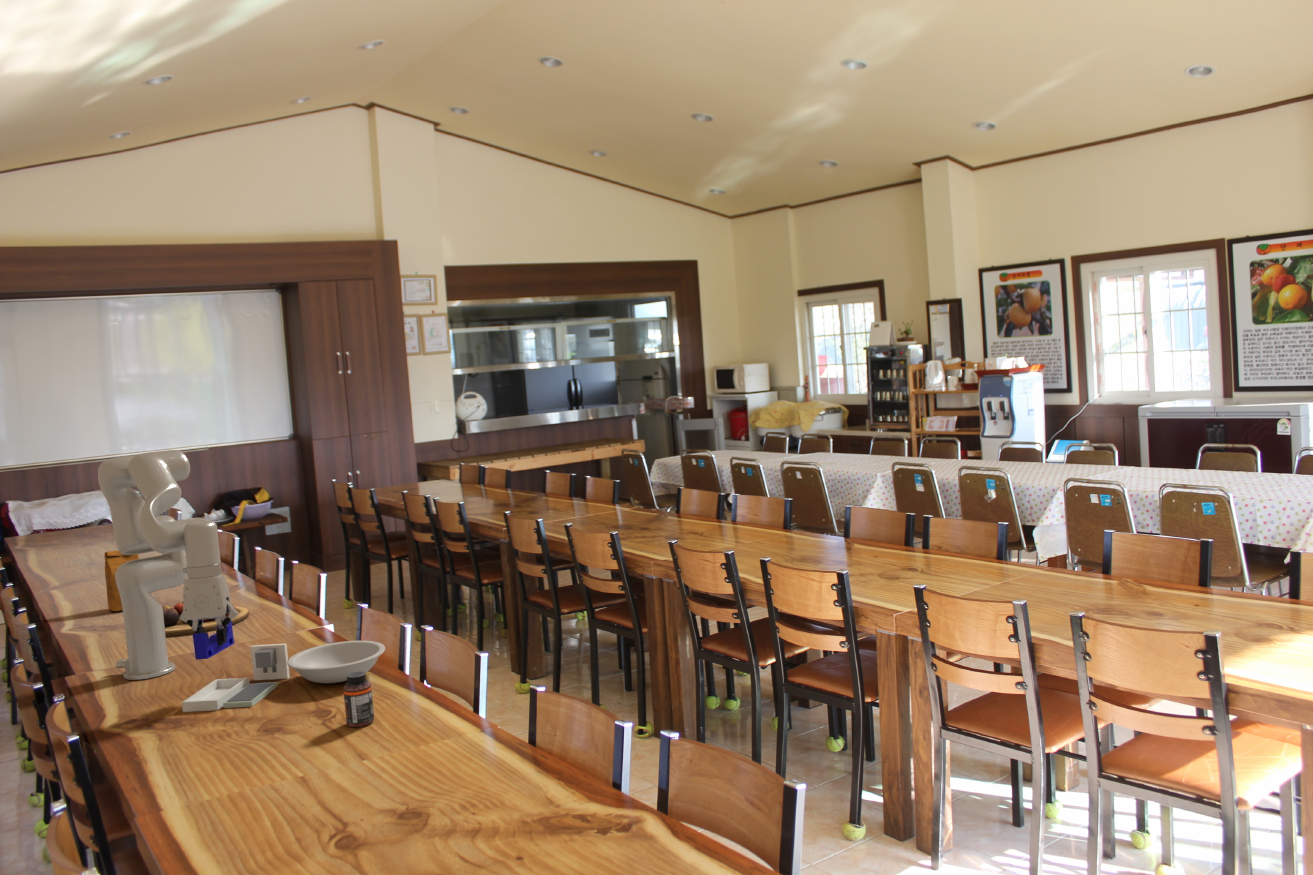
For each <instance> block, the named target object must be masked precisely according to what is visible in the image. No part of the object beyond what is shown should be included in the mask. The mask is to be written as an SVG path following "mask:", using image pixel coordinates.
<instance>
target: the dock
mask: <svg viewBox="0 0 1313 875" xmlns="http://www.w3.org/2000/svg"><path fill="white" fill-rule="evenodd" d="M249 684H251V683H250V677H238V678H237V677H236V678H235V677H234V678H216V679H214V680H213V681H211V682H210V683H208V684H207V685H205V686H204V687H203V688H200V689H199V690H198V691H196V692H195V693H194V694H192V695H190V696H189V697H188V698H186V699H184V700H183V701H181V707H182V708H181V709H182V713H190V712H192V713H193V712H205V711H206V712H208V711H210V712H211V711H219V710H220V709H221V708H224V707H223V703H224V702H225V701H227V700H228V699H229V698H231V697H232V696H234V695H235V694H236V693H238V692H239V691H240V690H242V689H243V688H245V687H246V686H247V685H249Z"/></svg>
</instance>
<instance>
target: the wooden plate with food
mask: <svg viewBox="0 0 1313 875" xmlns="http://www.w3.org/2000/svg"><path fill="white" fill-rule="evenodd" d="M232 606H233V607H234V608H235V609H236V610H237V612H238V613H239V614H238V615H237V616H236V617H235V618H234V619H232V620H231V621H232V625H235V624H237V623H239V622H243V621H244V620H246V619H247V618H248V617H249V616H250V610H249V609H248V608H246V607H244V606H243V607H242V606H234V604H232ZM162 608H163V616H164V626H165V636H166V637H174V636H183V635H191V634H192V635H193V634H195V631H193V630H192V627H190V626H189V625H188V624H187V623H186V622H184V621H182V620H181V619H180V616H181V614H182V612H183V601H182V602H177V603H176V604H175V605H173V606H168V604H165V605H163V606H162ZM225 616H226V617H228V616H229V613H228V614H225ZM203 628H205V632H207V631H208V632H209V631H213V630H217V623H216V620H215V618H214V619H203Z"/></svg>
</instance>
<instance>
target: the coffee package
mask: <svg viewBox="0 0 1313 875" xmlns="http://www.w3.org/2000/svg"><path fill="white" fill-rule="evenodd" d="M103 558H104V561H105V562H104V576H105V577H104V579H105V584H106V585H105V586H106V587H105V588H106V600H107V607H108V611H112V612H123V608H122V602H121V597H120V594H119V590H118V587H117V584H116V580H115V573H116V570H117V569H118V567H119V566H120V565H122V564H124V563H126V562H128V561H132V560H136V559H140V557H139V554H135V555H124V554H121V553H120V552H119V550H118V549H117V550H110V551H105V552H104V557H103Z"/></svg>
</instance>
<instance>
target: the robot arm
mask: <svg viewBox="0 0 1313 875" xmlns="http://www.w3.org/2000/svg"><path fill="white" fill-rule="evenodd" d="M190 474H191V464H190V460H189V458H188V457H187V456H186V454H185V453H184V452H182V451H180V450H177V449H169V450H167V449H166V450H160V451H149V452H144V453H139V454H132V455H125V456H124V455H123V456H117V457H113V458H112V457H111V458H109V459H106V460H104V461H103V462H102V463H101V464H100V465H99V466H98V469H97V480H98V485H99V488H100V491H101V492H102V494H103V497H104V498H105V500H106V501H107V504H108V506H109V511H110V515H111V516H110V517H111V523H112V528H113V529H112V530H113V534H114V540H115V544H116V547H117V550H119V552H120V553H121V554H124V555H135V554H138V555H141V554H146V553H152V552H155V553H158V554H160V555H154V556H148V557H143V558H139V559H136V560H132V561H128V562H126V563H124V564H122V565H120V566H119V567H118V569H117V570H116V573H115V580H116V584H117V587H118V590H119V594H120V597H121V602H122V608H123V611H122V613H123V614H122V615H123V622H124V630H125V639H126V640H125V641H126V649H127V650H126V651H127V659H126V658H123V659H119V658H118V659H117V660H116V663H115V664H116V665H115V668H116V669H124V670H125V671H124V672H123V674H122V675H123V679H125V680H130V681H132V680H133V681H136V680H137V681H138V680H146V679H153V678H156V677H160V676H163V675H167V674H169V673H171V672H172V671H174V670H175V669H176V664H175V663H174V662H172V661H169V655H168V646H167V639H166V638H167V636H165V626H164V616H163V608H162V607H163V605H162V604H161V602H160V601H159V600H158V599H156V598H155V597H154V596H153V595H152V593H155V592H157V591H164V590H168V589H172V588H176V587H179V586H182V585H183V592H182V593H183V594H182V602H183V612H182V614H181V616H180V619H181V620H182V621H184V622H186V623H187V624H188V625H189V626H190V627H192V630H193V631H195V633H194V634H196V633H206V631H205V628H203V619H214V618H215V620H216V623H217V626H218V629H215V633H216V635H217V644H218V646H220V645H222V644H224V643H226V640H227V631H226V626H228V624H229V623H230V622H231V620H232V619H234V618H235V617H236V616H237V615H238V614H239V613H238V612H237V610H236V609H235V608H234V607H235V606H234V605H233V604H232V600H231V594H230V589H229V588H230V587H229V584H228V581H227V577H226V576H225V574H223V570H222V563H221V553H220V552H221V551H220V543H219V542H220V540H219V532H218V525H217V523H216V522H215V521H213V520H207V519H205V518H204V517H193V518H186V519H185V518H184V519H178V520H176V519H175V518H174V517H172V516H171V515H162V514H164V513H165V512H167V511H169V510H170V509H171V508H173V507H175V506H176V505H177V504H178V503H179V501H180V500H181V498H182V493H183V492H182V489H181V487H180V486H179V484H178V483H177V482H182V481H184V480H186V479H187V478H188V477H189V475H190ZM132 487H134V488H135V487H136V488H137V490H138V491H139V493H140V494H139V493H138V492H137V491H136V490H135V489H134V488H132ZM233 606H234V607H233ZM228 613H229V616H228V617H226V616H225V614H228Z"/></svg>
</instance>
